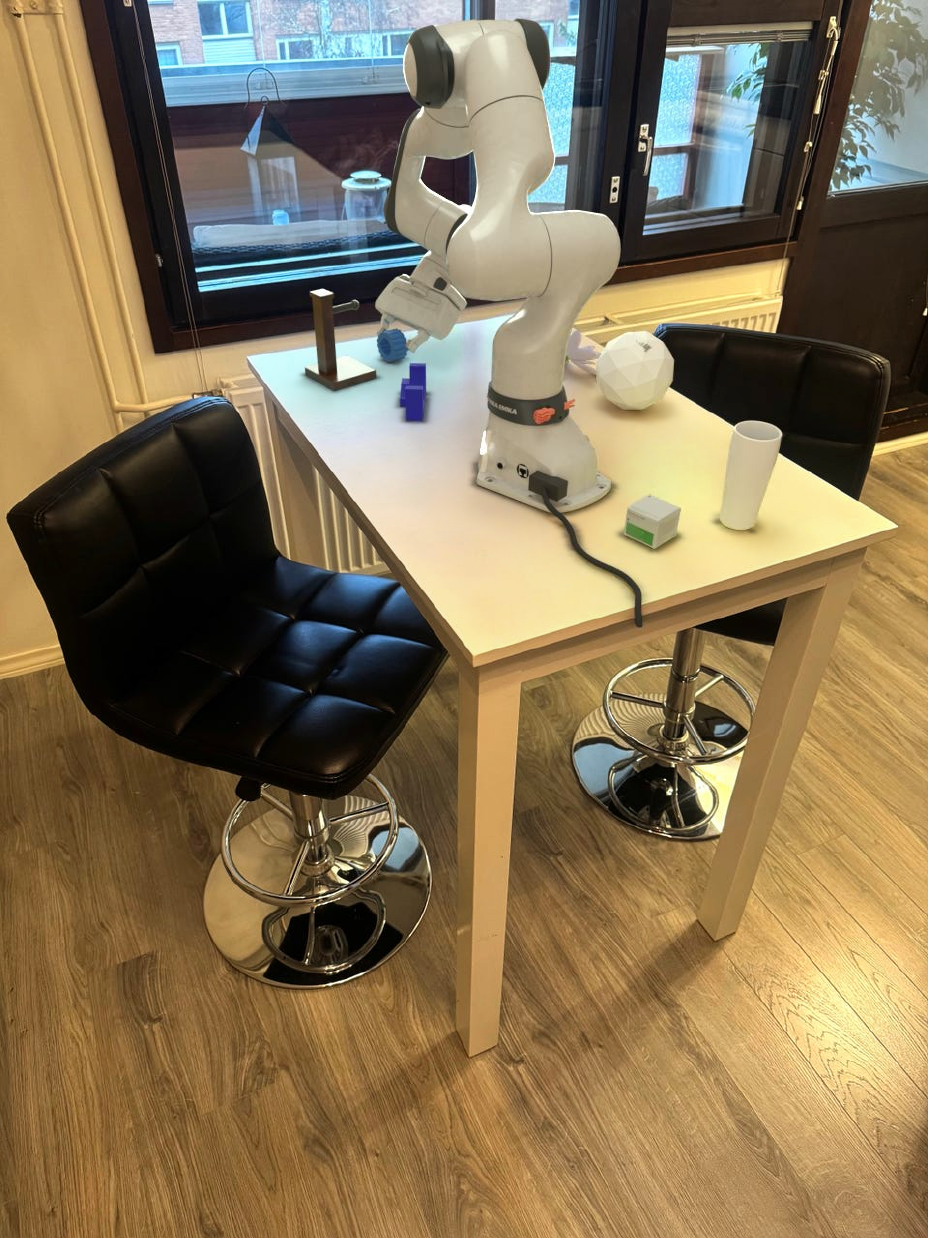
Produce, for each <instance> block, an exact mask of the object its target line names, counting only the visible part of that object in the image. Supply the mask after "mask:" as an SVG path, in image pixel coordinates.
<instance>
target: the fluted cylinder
mask: <svg viewBox="0 0 928 1238" xmlns="http://www.w3.org/2000/svg"><path fill="white" fill-rule="evenodd" d="M407 342H408V340H407V338H406V336H405V333H403V332H402V330H401V329H398V328H397V327H396V328H392V329H388V331H384V332H381V333H380V335H377V339H376V347H377V349H378V353H379V355H380V357H381V358H382V360H383V361H386V362H387V363H391V362H395V361H397V360H401V359H404V358H405V357H406V356H407V355H408V351H409V350H407V349H406V348H405V345H406V344H407Z"/></svg>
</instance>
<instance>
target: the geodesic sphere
mask: <svg viewBox="0 0 928 1238" xmlns="http://www.w3.org/2000/svg"><path fill="white" fill-rule="evenodd" d="M674 365H675V359H674V357H673V356H672V354H671V352H670V351H669V349H668V347H667V346H666V344H665V342H664V341H662V340H661V339H659V338H658V337H656V336H655V335H653V334H652V333H650V332H649V331H648V330H643V331H641V330H640V331H634V330H632V331H626V332H625V333H623V334H621V335H619V336H617V337H615V338H613V339H611V340H610V341H607V343H606V344H605V346H604V348H603V349H602V351H601V355H600V356H599V358H598V359H596V371H597V375H595V376H596V377H595V378H596V380H595V381H596V383H597V385H598V387H599V389H600V390H601V392H602V394H603V395H604V397H605V399H606V400H608V401H609V402H611V403H612V404H614V405H615V406H616V407H618V408H619V409H621V410H622V411H628V410H629V411H643V410H645V409H646V408H649V407H650V406H652V405H655V404H656V403H659V402H660V401H662V400H663V398H664V396H665V395H666V393H667V391H668V390H669V388H670V386H671V385H672V383H673V381H674V367H675V366H674Z"/></svg>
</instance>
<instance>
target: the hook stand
mask: <svg viewBox="0 0 928 1238" xmlns="http://www.w3.org/2000/svg"><path fill="white" fill-rule="evenodd" d="M309 297H311V301H312V311H313V312H312V313H313V322H314V323H313V324H314V334H315V344H316V345H315V346H316V360H317V363H315V364H311V365H308V366H305V367H304V375H305V376H306V377H308V378H310V379H312V380H314V381H315V382H318V383H319V384H321V385H323V386H324V387H326V388H328V389H329V390H332V391H338V390H341V389H346V388H348V387H351V386H355V385H358V384H362V383H364V382H368V381H371V380H375V379H377V370H376V369H375V368H372V367H371V366H368V365H367V364H365V363H362V362H361V361H358V360H357V359H354V358H352V357H351V356H348V355H342V356H339V357H337V348H336V334H335V320H334V314H338V313H342V312H346V311H351V310H353V311H357V310H358V309H359V308H360V302H359V301H358V300H356V299H353V300H351V301H350V302H347V303H342V304H339V305H333V299H334V298H335V293H334V292H333V291H329V290H328V289H327V290H326V289H324V288H320V289H316V290H312V291H311V290H310V291H309Z"/></svg>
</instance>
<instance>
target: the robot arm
mask: <svg viewBox="0 0 928 1238" xmlns="http://www.w3.org/2000/svg"><path fill="white" fill-rule="evenodd" d="M402 65H403V67H402V68H403V69H402V70H403V75H404V80H405V84H406V86H407V88H408V91H409V94H410V96H411V98H412V100H413V101H415V102H416V104H417V105H419V106H420V107H421V108H417V109H415V110H414V111H413V112H412V113H411V114H410V116H409V117H408V118H407V120H406V122H405V125H404V127H403V130H402V133H401V136H400V140H399V145H398V149H397V155H396V160H395V163H394V168H393V173H392V178H391V183H390V186H389V189H388V192H387V194H386V197H385V200H384V203H383V207H382V209H383V216H384V221H385V224H386V226H387V228H388V230H389V231H391V232H392V233H395V234H397V235H399V236H401V237H403V238H405V239H408V240H410V241H412V242H414V243H415V244H417V245H418V246H420V247H422V248H424V250H425V249H426V250H427V252H426V253H425V254H424V255H423V256H422V257H421V259H420V260H419V262H418V263H417V265H416V267H415V268H414V270H413V271H412V272H411V274H410V275H408V274H405V273H403V274H402V275H399V276H396V277H394V279H393V280H391V281H390V282H389V283H388V284H387V286H386V287H385V288H384V289H383V290H382V291H381V293H380V295H379V296H377V298H376V301H375V303H374V304H375V305H374V306H375V309H376V310H377V311H378V312H379V313H380V314H381V316H380V323H379V328H378V329H377V330H376V335H377V336H378V335H380V333H381V332H384V331H388V330H389V329H390V325H392V324H393V323H394V321H395V322H397V323H400V324H402V325H404V326H407V327H409V328H411V329H413V330H416V331H417V334H416V336H415V337H413V338H412V339H411V338H409V339H408V340H407V344H406V345H405V348H406V349H407V350H408V351H409V352H411V353H412V354H413V353H416V351H417V350H418V348H419V347H420V346H421V345H423V344H424V343H426V342H428V340H429V339H430V337H432V338H434V339H436V340H439V341H443V340H444V339H446V338H447V337H448V336H449V335H450V333H451V332H452V330H453V329H454V327H455V325H456V323H457V322H458V320H459V318H460V315H461V312H462V311H464V310H465V309H466V307H467V305H468V302H467V300H466V299H472V300H480V301H490V302H491V301H492V302H499V301H508V300H509V301H510V300H518V299H525V301H524V302H523V304H522V305H521V307H520V308H519V309H518V310H517V312H515V314H514V315H512V316H511V317H509V318H508V319H507V320H505V321H504V322H503V323H502V324H501V325H500V326H499V327H498V328H497V330H496V332H495V333H494V336H493V339H492V348H491V349H492V350H491V375H490V377H491V378H490V381H489V382H488V387H487V393H486V400H487V401H486V404H487V405H486V406H487V409H488V417H487V423H486V428H485V429H486V430H485V431H483V436H482V441H481V447H480V458H479V460H478V462H477V469H478V470H477V471H478V474H477V476H476V481H475V482H476V485H477V486H480V487H483V488H485V489H488V490H490V491H493V492H495V493H498V494H501V495H503V496H505V497H507V498H511V499H513V500H516V501H519V502H521V503H523V504H526V505H529V506H532V507H533V508H536V509H538V510H541V511H544V512H547V513H550V514H551V515H553V516H554V517H556V519H558V520H559V521H560V522H561V523H562V525H563V526H564V527H565V529H566V531H567V533H568V535H569V539H570V543H571V546H572V548H573V549H574V551H575V552H576V553H577V554H578V555H579V556H580V557H581V558H582V559H583V560H585V561H586V562H588V563H589V564H591V565H592V566H595V567H598V568H599V569H601V570H604V571H606V572H608V573H610V574H612V575H614V576H616V577H618V578H619V579H621V580H623V581H624V582H625V583H627V585H628V586H629V587H630V588H631V589H632V591H633V594H634V619H635V620H634V621H635V622H634V623H635V626H636V627H637V628H639V629H640V628H643V615H642V600H643V599H642V597H643V595H642V590H641V588H640V586H639V585H638V584H637V583H636V582H635V580H634V579H633V577H631V576H630V575H628V574H627V573H626V572H624V571H622V570H620V569H619V568H617V567H615V566H613V565H610V564H608V563H606V562H603V561H602V560H599V559H597V558H596V557H594V556H592V555H590V554H589V553H587V552H586V551H585V550H584V549H583V548H582V547H581V546H580V544H579V542H578V539H577V535H576V532H575V529H574V526H573V525H572V524H571V522H570V521H569V519H567V517H566V516H565V515H564V514H563V513H568V512H573V511H577V510H580V509H582V508H585V507H587V506H589V505H592V504H594V503H596V502H597V501H599V500H601V499H602V498H603V497H605V496H606V495H607V494H609V492H610V490H611V487H612V480H611V479H609V478H608V477H607V476H605V475H604V474H603V473H601V472H600V471H598V469H599V468H598V467H599V465H598V454H597V450H596V449H595V447H594V446H593V444H592V443H591V441H590V438H589V436H588V435H586V434H585V433H583V431H582V430H581V429H580V426H578V424H577V423H576V422H575V421H574V419H573V418H572V416H571V415H570V409H571V408H573V407H575V406H576V405H575V404H574V403H575V402H576V399H574V398H573V399H570V400H568V397H567V396H568V395H567V392H566V389H565V385H564V383H563V382H564V373H565V366H566V364H565V359H566V352H567V346H568V341H569V337H570V334H572V331H573V329H574V327H575V325H576V322H577V320H578V318H579V316H580V314H581V312H582V311H583V310H584V309H585V306H586V305H587V303H588V302H589V301H590V299H592V297H593V296H594V294H596V292H597V291H598V290H600V288H602V287H603V286H604V285H606V284H607V283H608V282H609V281H610V280H611V279H612V277H613V276H614V274H615V272H616V271H617V268H618V266H619V262H620V259H621V253H622V251H621V250H622V249H621V239H620V236H619V232H618V229H617V227H616V226H615V224H614V223H613V221H612V219H610V218H609V217H608V216H607V215H606V214H603V213H598V212H597V213H596V212H591V211H585V210H578V209H573V210H571V209H570V210H561V211H560V210H559V211H549V212H548V211H545V212H531V209H530V208H529V203H528V196H530V195H531V194H532V193H534V192H536V191H537V190H538V189H540V188H541V186H543V185H544V184H545V183H546V182H547V181H548V179H549V178H550V176H551V174H552V172H553V170H554V166H555V161H556V152H555V147H554V142H553V137H552V131H551V127H550V123H549V118H548V112H547V107H546V102H545V98H544V93H543V90H544V88H545V87H546V85H547V83H548V81H549V76H550V72H551V71H550V70H551V50H550V44H549V39H548V36H547V33H546V31H545V30H544V29H543V27H542V25H541V24H539V22H537V21H534V20H532V19H528V18H527V19H526V18H515V19H514V20H507V19H479V20H477V19H466V20H460V21H459V20H458V21H454V22H449V23H443V24H441V25H437V26H434V24H429V25H426V26H423V27H421V28H417V29H416V30H414V31H412V32H411V33H410V35H409V37H408V38H407V40H406V42H405V49H404V55H403V63H402ZM472 152H473V159H474V166H475V173H476V191H475V196H474V200H473V203H472V205H468V204H461V205H460V204H459V205H458V204H456V203H454V202H453V201H451V200H449V199H446V198H445V197H443V196H441V194H440V195H439V193H436V192H435V191H433V190H431V189H430V188H428V187H427V186H426V185H425V184H424V182H423V181H422V179H421V177H422V172H423V169H424V165H425V161H426V157H431V158H437V159H440V160H454V159H459V158H462V157H465V156H468V155H469V154H470V153H472Z"/></svg>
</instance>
